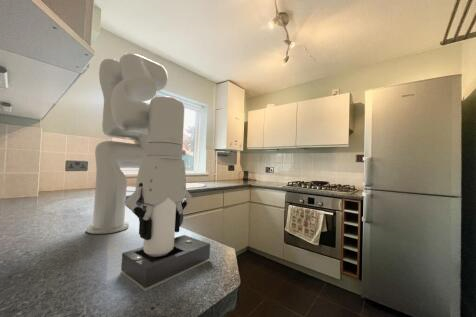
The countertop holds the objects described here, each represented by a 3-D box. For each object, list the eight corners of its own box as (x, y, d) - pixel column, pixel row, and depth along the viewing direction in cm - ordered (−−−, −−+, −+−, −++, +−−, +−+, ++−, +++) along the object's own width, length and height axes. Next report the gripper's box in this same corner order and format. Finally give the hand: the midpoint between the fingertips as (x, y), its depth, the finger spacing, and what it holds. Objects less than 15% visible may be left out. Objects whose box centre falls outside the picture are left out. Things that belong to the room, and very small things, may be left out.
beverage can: (136, 257, 40) (140, 198, 41) (153, 245, 46) (156, 194, 47) (165, 259, 39) (168, 199, 40) (178, 248, 45) (181, 196, 46)
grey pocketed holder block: (120, 272, 41) (122, 251, 41) (183, 249, 54) (184, 234, 54) (145, 291, 35) (146, 267, 35) (209, 260, 48) (210, 243, 48)
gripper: (185, 156, 53) (182, 223, 52) (116, 149, 39) (109, 240, 38) (204, 155, 49) (201, 229, 47) (133, 147, 35) (126, 251, 34)
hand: (160, 233), depth 43 cm, fingers closed on beverage can, 6 cm apart
